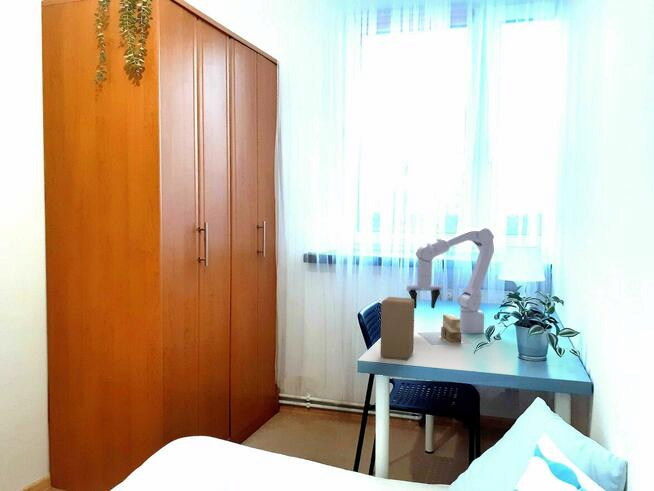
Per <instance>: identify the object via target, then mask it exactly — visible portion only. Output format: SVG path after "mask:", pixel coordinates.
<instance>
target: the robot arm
mask: <svg viewBox="0 0 654 491" xmlns="http://www.w3.org/2000/svg"><path fill="white" fill-rule="evenodd" d="M494 237H495V236H494V234H493V232H492V231H491V230H490V229H489V228H486V227H477V226H476V227H472V228H469V229H466V230H464V231H462V232H460V233H458V234H456V235H454V236H452V237H450V238H448V239H445V238H440V237H439V238H436V241H434V242H432V243H430V242H429V243H426V246H424V245H422V246H420V247H419V248H417V251H416V252H415V256H416V257H417V285H406V291H407V292H408V293H409V295H410V298H412V299H414V301H415V303H414V309H417V306H418V304H417V300H418V299H417V297H418V291H419V292H420V291H422V292H424V291H425V292H427V291H430V296H431V301H430V307H431V309H435V308H436V302H437V300H438V298H439V296H440V294H441V292H442V291H443V286H442V285H434V284H432V279H433V278H432V276H433V275H432V273H433V272H432V271H433V259H434V258H436V257H438V256H440V255H442V254H444V253H447V252H449V251H450V248H451V247H454V246H457V245H459V244H462V243H464V242H467V241H471V242H473V243H474V244H475V245H476V247H477V249H478V250H479V253H478V255H477V260H476V262H475V265H474V267H473V270H472V273H471V276H470V279H469V281H468V284H467V286H466V287H465V288H464V289H463V291H462V293H461V294H460V295H459V297H458V300H457V302H458V305H459V306H460V310H459V319H460V332H461V334H483V333H484V334H485V315H484V314H485V313H484V311H482V310H479V309H480V308H481V306H482V302H481V300H482V297H483V296H482V293H481V290H482V289H481V288H482V286H483V283H484V281H485V278H486V275H487V273H488V271H489V270H488V269H489V266H490V264H491V260H492V257H493V255H494V252H495V246H494Z"/></svg>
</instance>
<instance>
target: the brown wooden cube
mask: <svg viewBox="0 0 654 491" xmlns="http://www.w3.org/2000/svg"><path fill="white" fill-rule="evenodd" d="M440 329H441V330H440V332H441V337H442V338H444V339H446V330H447V329H445V328H444V327H443V326H441V327H440Z"/></svg>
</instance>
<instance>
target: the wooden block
mask: <svg viewBox="0 0 654 491" xmlns="http://www.w3.org/2000/svg"><path fill="white" fill-rule="evenodd" d="M414 303H415V301H414V299H412V298H411V297H410V298H409V297H396V296H395V297H394V296H388V297H387V298H385V299H383V300H382V301H381V307H380V311H381V312H380V314H381V315H380V357H381V358H383V359H385V358H386V359H393V360H394V359H395V360H404V361H407V360H409V359H410V358H411V356H412V355H413V353H414V340H415V339H414V335H415V334H414V333H415V308H414Z"/></svg>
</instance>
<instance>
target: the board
mask: <svg viewBox="0 0 654 491" xmlns="http://www.w3.org/2000/svg"><path fill="white" fill-rule="evenodd" d="M417 334H418V335H419V336H421V338H423V339H424V340H425V341H426V342H428V343H429V344H431V345H433V346H434V345H473V343H472V342H470V341H469V340H468V339H466V338H465V337H462V336H461V343H449V342H448V341H446V339H444V338H442V337H441V331H439V332H438V331H436V332H434V331H432V332H431V331H430V332H417Z"/></svg>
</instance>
